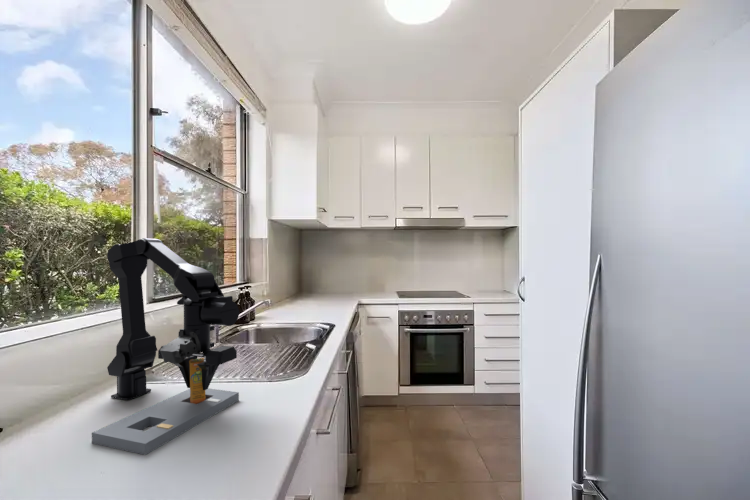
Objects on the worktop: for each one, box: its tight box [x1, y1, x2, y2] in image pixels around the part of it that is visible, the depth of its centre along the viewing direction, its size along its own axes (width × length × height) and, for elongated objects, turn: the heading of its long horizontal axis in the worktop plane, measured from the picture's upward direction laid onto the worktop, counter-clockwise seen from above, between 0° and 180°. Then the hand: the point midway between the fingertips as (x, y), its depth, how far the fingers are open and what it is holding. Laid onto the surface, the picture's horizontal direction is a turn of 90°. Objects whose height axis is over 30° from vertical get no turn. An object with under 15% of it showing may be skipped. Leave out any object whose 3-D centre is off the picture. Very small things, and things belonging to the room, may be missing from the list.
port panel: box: [91, 387, 240, 455], centre depth 78 cm, size 14×25×2 cm, turn 162°
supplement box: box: [189, 357, 205, 404], centre depth 84 cm, size 3×3×10 cm
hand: (197, 388), depth 84 cm, fingers closed on supplement box, 4 cm apart
